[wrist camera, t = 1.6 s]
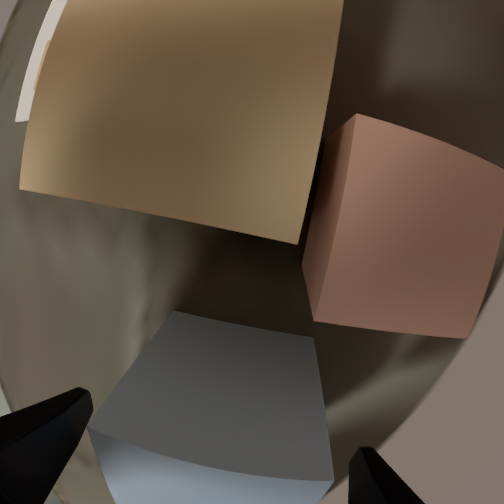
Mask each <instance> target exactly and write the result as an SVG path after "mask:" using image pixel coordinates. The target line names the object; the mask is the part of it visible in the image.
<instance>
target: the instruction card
mask: <svg viewBox="0 0 504 504" xmlns="http://www.w3.org/2000/svg"><path fill="white" fill-rule="evenodd" d="M67 1H68V0H52V2H51V5H50V7H49V9H48V12H47V14H46V16H45V19H44V21H43V24H42V26H41V29H40V32H39V34H38V37H37V40H36V43H35V46H34V48H33V52H32V55H31V58H30V61H29V64H28V68H27V71H26V75H25V79H24V83H23V87H22V91H21V95H20V99H19V104H18V109H17V114H16V119H15V122H23V121H28V120H29V115H30V110H31V106H32V101H33V97H34V93H35V89H36V85H37V82H38V78H39V75H40V71H41V68H42V65H43V62H44V58H45V55H46V52H47V50H48V47H49V44H50V41H51V38H52V36H53V33H54V31H55V28H56V26H57V23H58V21H59V18H60V16H61V14H62V11H63V9H64V7H65V5H66V3H67Z"/></svg>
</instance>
